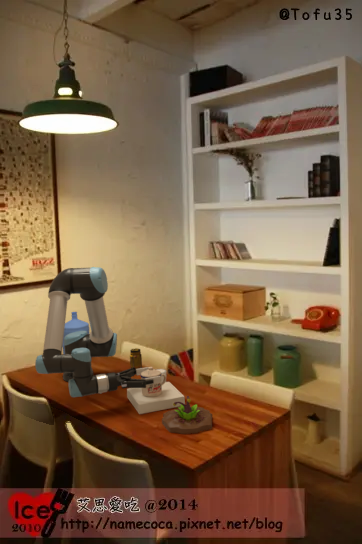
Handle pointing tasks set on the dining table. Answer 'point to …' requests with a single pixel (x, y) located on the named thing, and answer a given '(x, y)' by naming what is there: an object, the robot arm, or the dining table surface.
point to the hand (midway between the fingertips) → (155, 374)
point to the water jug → (74, 326)
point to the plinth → (155, 399)
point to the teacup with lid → (153, 388)
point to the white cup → (162, 373)
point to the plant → (187, 419)
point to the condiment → (135, 358)
